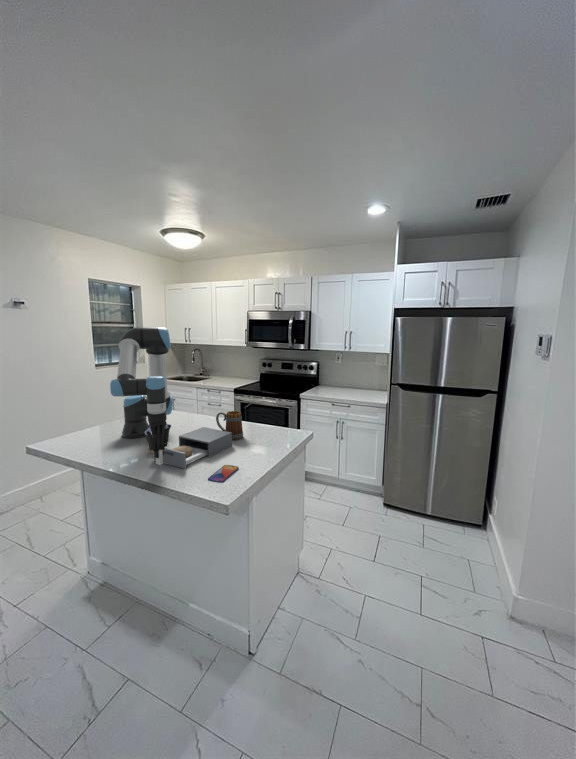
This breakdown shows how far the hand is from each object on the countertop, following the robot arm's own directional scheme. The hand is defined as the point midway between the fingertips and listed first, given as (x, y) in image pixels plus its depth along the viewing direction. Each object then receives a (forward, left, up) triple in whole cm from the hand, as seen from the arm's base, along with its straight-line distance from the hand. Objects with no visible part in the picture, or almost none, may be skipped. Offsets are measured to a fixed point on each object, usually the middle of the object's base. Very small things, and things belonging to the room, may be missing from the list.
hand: (159, 463), depth 141 cm
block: (-18, +13, -2) cm, 22 cm away
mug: (0, +50, -3) cm, 50 cm away
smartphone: (+28, +10, -3) cm, 30 cm away
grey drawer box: (0, +30, -2) cm, 30 cm away
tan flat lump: (0, +13, -1) cm, 13 cm away
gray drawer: (0, +13, -2) cm, 13 cm away
